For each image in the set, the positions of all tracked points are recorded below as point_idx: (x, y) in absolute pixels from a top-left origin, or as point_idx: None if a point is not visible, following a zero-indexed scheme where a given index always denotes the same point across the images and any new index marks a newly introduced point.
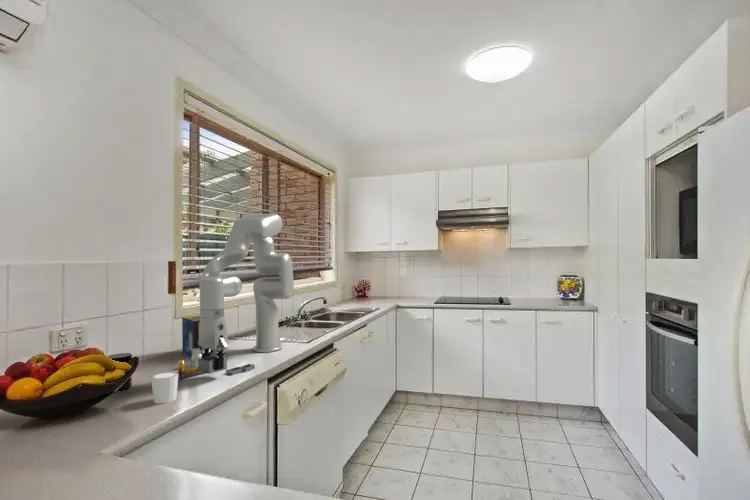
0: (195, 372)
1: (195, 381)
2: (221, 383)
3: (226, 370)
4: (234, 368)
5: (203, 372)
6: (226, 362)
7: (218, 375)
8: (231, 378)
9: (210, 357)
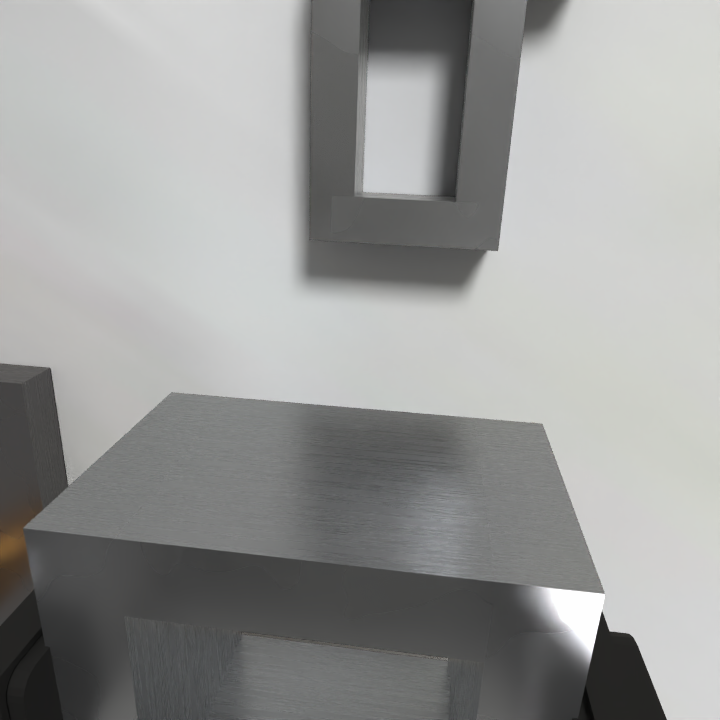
0: (14, 516)
1: (286, 638)
2: (680, 577)
3: (323, 238)
4: (357, 69)
5: (41, 416)
6: (565, 504)
7: (306, 356)
8: (636, 367)
9: (143, 693)
